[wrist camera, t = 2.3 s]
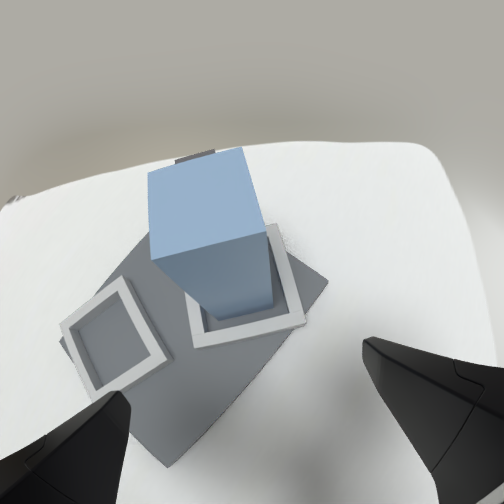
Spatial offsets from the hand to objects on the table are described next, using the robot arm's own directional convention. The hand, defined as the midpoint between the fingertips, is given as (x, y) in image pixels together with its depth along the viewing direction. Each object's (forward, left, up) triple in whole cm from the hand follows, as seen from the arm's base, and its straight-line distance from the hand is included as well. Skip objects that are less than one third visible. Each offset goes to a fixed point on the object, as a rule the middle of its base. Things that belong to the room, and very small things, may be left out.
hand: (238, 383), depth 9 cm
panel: (-1, +8, -13) cm, 16 cm away
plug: (+4, +6, -12) cm, 14 cm away
